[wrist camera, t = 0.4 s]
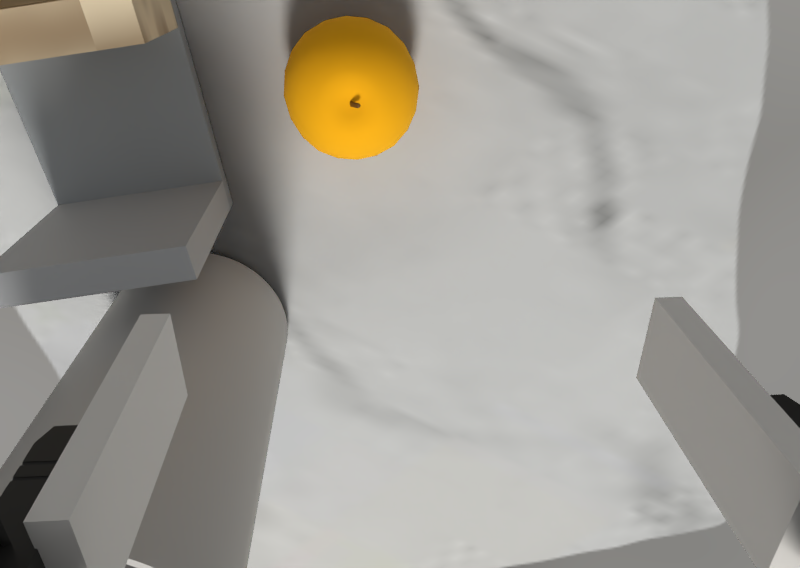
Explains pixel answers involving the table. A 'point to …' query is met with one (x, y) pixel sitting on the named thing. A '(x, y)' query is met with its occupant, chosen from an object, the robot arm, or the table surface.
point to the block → (78, 26)
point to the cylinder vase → (192, 411)
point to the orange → (351, 87)
